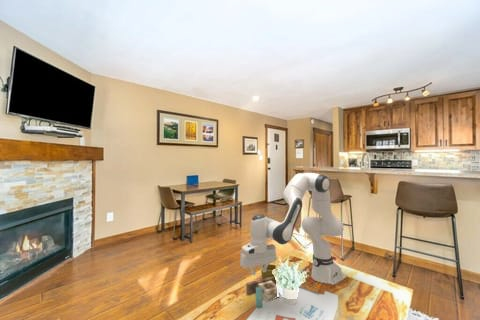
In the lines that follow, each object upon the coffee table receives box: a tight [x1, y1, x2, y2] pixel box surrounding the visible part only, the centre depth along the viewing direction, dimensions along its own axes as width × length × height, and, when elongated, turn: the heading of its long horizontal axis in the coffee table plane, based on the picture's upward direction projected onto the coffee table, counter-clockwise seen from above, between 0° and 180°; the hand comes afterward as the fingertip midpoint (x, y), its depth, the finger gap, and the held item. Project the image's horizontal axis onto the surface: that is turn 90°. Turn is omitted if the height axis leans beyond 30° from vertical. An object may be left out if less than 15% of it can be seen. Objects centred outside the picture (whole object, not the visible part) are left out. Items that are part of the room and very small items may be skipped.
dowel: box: [255, 287, 263, 309], centre depth 116 cm, size 3×3×9 cm
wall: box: [245, 276, 276, 296], centre depth 131 cm, size 22×2×6 cm, turn 114°
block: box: [258, 281, 277, 302], centre depth 126 cm, size 9×9×5 cm
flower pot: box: [260, 263, 277, 279], centre depth 141 cm, size 9×9×9 cm
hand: (258, 273), depth 116 cm, fingers open, 5 cm apart
